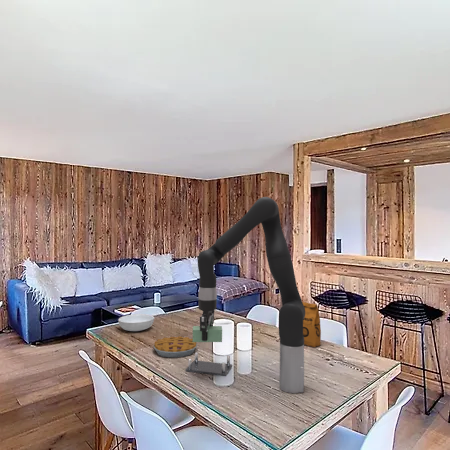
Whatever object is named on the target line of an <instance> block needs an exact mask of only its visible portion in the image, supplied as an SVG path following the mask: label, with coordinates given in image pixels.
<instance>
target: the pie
mask: <svg viewBox="0 0 450 450" xmlns="http://www.w3.org/2000/svg"><path fill="white" fill-rule="evenodd" d="M153 348H154V350H155V351H156V353H157V355H158V356H161V357H162V358H182V357H188V356H191V355H192V354H194V353H195V351H196V349H197V348H198V342H193V338H190V337H188V336H186V337H185V336H180V335H179V336H177V337H176V336H170V337H163V338H158V339H157V340H155V341H154V344H153Z"/></svg>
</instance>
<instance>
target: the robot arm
mask: <svg viewBox="0 0 450 450" xmlns="http://www.w3.org/2000/svg"><path fill="white" fill-rule="evenodd" d="M278 205H279V204H278V203H277V202H276V200H274V199H273V198H271V197H268V196H263V197H260V198H258V199H257V200H256V201H255V202H254V204H253V205H252V206H251V207H250V209H248V211H246V213H245V214H244V215H243V216H242V217H241V218H240V219H239V220H237V222H236V223H235V224H233V225H232V226H231V227H230V228H229V229H227V230H226V231H225V232H224V233H223V234H222V235H221V236H220V237H218V238H217V239H216V241H215V242H214V243H213V244H212V245H211V246H210V247H209V248H207V249H204V250H201V251H200V253H199V254H198V257H197V268H198V269H197V270H198V274H199V287H198V304H197V305H198V307H197V308H198V310H199V311H202V314H201V316H199V326H200V331H202V341H207V340H208V327H209V326H214V323H215V311H216V310H217V308H218V307H217V305H218V304H217V303H218V302H217V301H218V300H217V299H218V298H217V297H218V296H217V295H218V292H217V275H216V273H215V265H216V264H218V263H219V262H220V261H221V260H222V259H223V258H224V257H225V256H226V254H228V253H230V251H232V250H233V249H234V248H235V247H237V246H238V245H239V244H240V243H241V242H242V241H243V240H244V239H245V237H246V236H247V235H249V234H250V232H251V231H253V229H254V228H256V227H257V226H259V225H260V224H261V227H262V229H263V233H264V241H265V242H264V243H265V245H264V246H265V255H266V259H267V264H268V267H269V268H268V269H269V270H270V274H271V276H272V278H273V279H274V281H275V284H276V286H277V288H278V291H279V294H280V299H281V307H280V309H279V312H278V338H279V389H280V390H281V391H283V392H286V393H290V394H297V393H298V394H299V393H304V390H305V344H304V336H303V319H304V317H305V308H304V305H303V302H304V301H302V297H301V295H300V291H299V288H298V286H297V281H296V279H297V278H296V275H295V270H294V264H293V260H292V256H291V253H290V250H289V246H288V243H287V240H286V238H285V237H286V236H285V235H284V231H283V229H282V228H283V227H282V223H281V218H280V217H281V216H280V211H279V210H280V209H279V206H278ZM204 326H205V328H204Z"/></svg>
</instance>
